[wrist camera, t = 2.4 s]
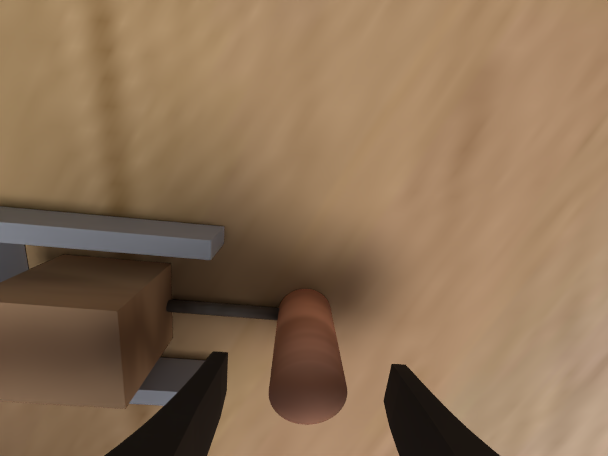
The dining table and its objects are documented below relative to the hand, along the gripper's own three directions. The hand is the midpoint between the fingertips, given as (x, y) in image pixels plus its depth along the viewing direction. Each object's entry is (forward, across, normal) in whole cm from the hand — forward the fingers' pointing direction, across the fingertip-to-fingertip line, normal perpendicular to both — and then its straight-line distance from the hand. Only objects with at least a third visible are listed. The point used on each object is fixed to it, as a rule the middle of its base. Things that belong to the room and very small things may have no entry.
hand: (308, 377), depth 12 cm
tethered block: (+5, +6, 0) cm, 8 cm away
